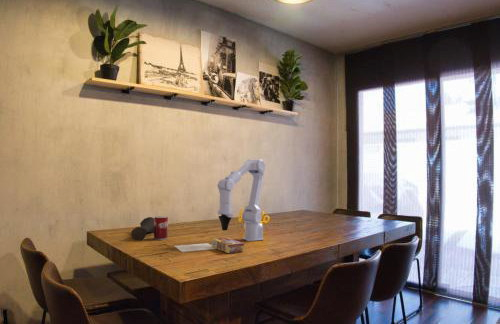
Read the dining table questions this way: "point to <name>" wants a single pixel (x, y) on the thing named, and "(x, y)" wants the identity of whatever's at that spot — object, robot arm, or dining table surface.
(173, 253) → the dining table surface
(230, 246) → the candy box
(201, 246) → the mat
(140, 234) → the dark grey dumbbell
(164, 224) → the soda can
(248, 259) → the dining table surface
